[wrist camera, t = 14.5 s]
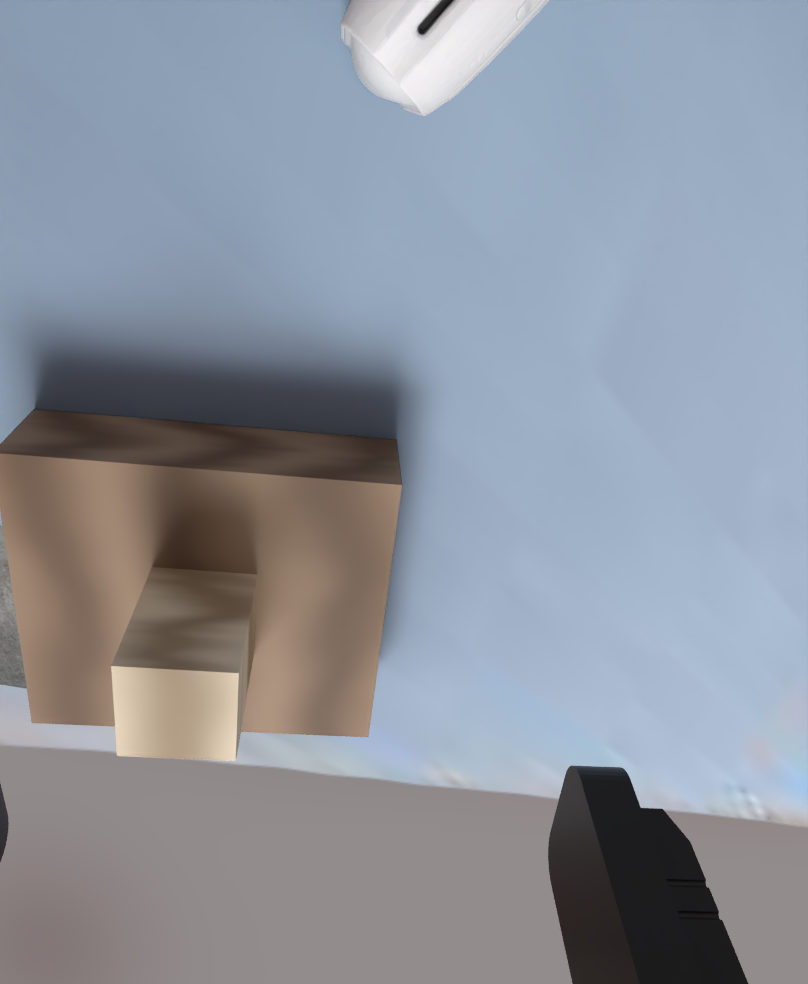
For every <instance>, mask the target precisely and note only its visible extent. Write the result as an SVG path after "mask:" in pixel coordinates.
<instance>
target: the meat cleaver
mask: <svg viewBox="0 0 808 984" xmlns="http://www.w3.org/2000/svg"><path fill="white" fill-rule="evenodd" d="M0 684H1V685H8V686H14V687H21V688H27V686H26V679H25V672H24V666H23V659H22V652H21V645H20V639H19V632H18V625H17V618H16V612H15V605H14V598H13V591H12V585H11V578H10V571H9V564H8V558H7V551H6V544H5V537H4V530H3V526H0Z"/></svg>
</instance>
